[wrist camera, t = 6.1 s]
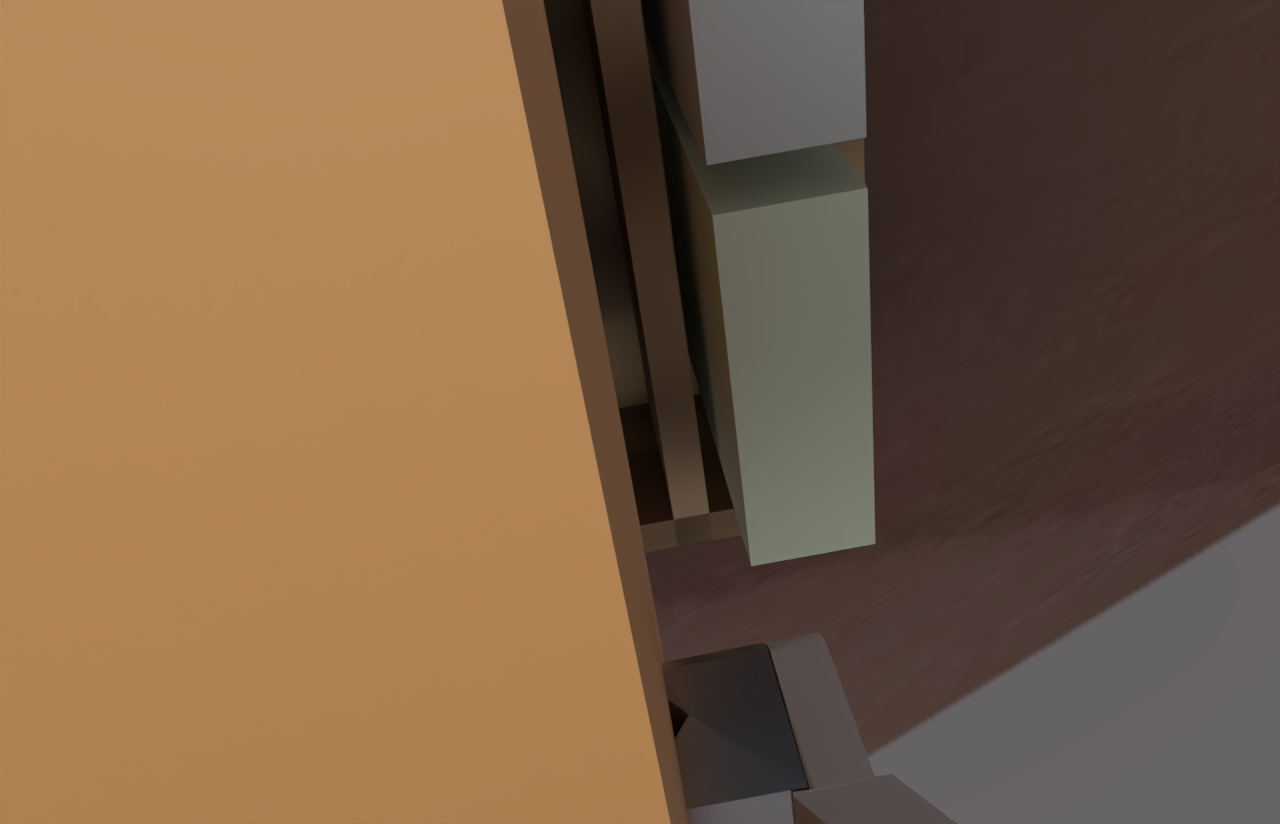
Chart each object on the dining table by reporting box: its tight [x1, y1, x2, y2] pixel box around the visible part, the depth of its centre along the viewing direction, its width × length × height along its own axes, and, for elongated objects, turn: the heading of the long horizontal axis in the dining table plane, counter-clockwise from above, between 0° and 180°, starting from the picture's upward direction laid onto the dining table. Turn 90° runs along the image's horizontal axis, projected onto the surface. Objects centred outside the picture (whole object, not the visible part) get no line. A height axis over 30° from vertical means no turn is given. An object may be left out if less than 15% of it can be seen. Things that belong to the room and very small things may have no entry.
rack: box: [544, 0, 865, 553], centre depth 26 cm, size 24×10×8 cm, turn 8°
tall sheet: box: [0, 0, 690, 824], centre depth 15 cm, size 16×2×22 cm, turn 8°
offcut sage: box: [651, 69, 875, 566], centre depth 27 cm, size 9×3×10 cm, turn 8°
